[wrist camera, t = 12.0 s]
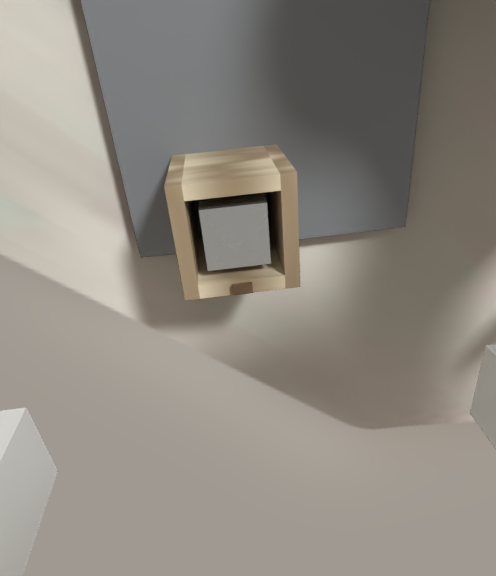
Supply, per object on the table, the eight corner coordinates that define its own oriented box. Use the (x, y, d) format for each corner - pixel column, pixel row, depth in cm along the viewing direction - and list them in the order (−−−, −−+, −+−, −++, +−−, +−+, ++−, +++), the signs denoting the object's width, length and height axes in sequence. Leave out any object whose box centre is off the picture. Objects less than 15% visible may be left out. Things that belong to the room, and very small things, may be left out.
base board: (427, -96, 24) (440, -104, 23) (397, 219, 34) (405, 226, 33) (71, -65, 24) (64, -72, 22) (142, 249, 33) (140, 257, 32)
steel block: (252, 166, 31) (267, 202, 24) (256, 216, 33) (270, 263, 26) (199, 172, 31) (198, 210, 24) (206, 222, 33) (207, 271, 26)
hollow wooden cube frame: (276, 144, 29) (298, 173, 22) (281, 240, 32) (301, 289, 26) (171, 155, 29) (163, 188, 22) (188, 251, 32) (184, 303, 26)
